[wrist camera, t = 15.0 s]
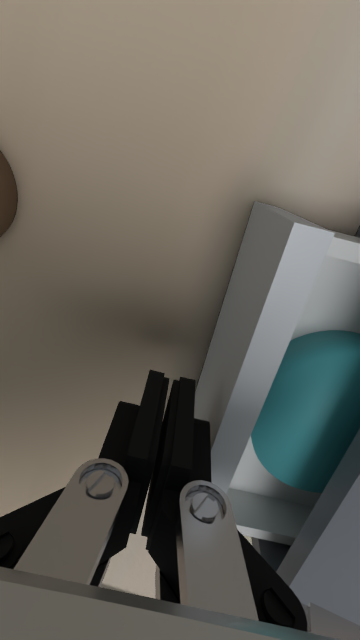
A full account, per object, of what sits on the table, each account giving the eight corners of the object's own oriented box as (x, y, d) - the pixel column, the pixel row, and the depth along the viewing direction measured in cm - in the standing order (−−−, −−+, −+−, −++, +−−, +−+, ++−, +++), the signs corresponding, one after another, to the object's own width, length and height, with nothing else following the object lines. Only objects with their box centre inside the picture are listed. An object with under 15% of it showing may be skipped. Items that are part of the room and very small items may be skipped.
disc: (229, 445, 17) (233, 478, 15) (269, 316, 14) (279, 338, 12) (367, 469, 17) (388, 505, 15) (433, 346, 14) (469, 372, 12)
